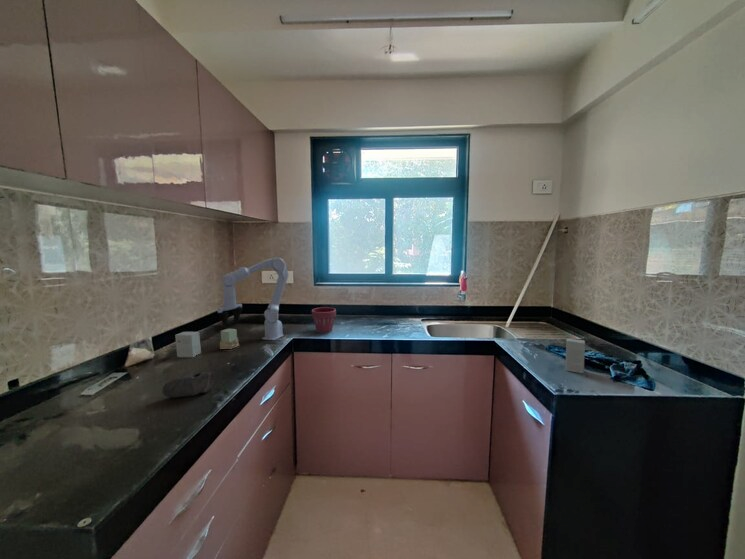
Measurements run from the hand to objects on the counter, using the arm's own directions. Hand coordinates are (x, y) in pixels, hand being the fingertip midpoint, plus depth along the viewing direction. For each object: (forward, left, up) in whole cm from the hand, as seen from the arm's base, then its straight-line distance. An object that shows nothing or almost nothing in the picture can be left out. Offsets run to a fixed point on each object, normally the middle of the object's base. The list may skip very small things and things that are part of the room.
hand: (231, 323), depth 154 cm
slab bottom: (+6, +4, -11) cm, 13 cm away
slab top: (+6, +4, -9) cm, 11 cm away
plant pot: (-35, +35, -11) cm, 51 cm away
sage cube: (+6, +4, -6) cm, 10 cm away
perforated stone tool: (+49, +28, -11) cm, 57 cm away
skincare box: (-11, +156, -11) cm, 157 cm away
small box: (+20, -6, -11) cm, 23 cm away
